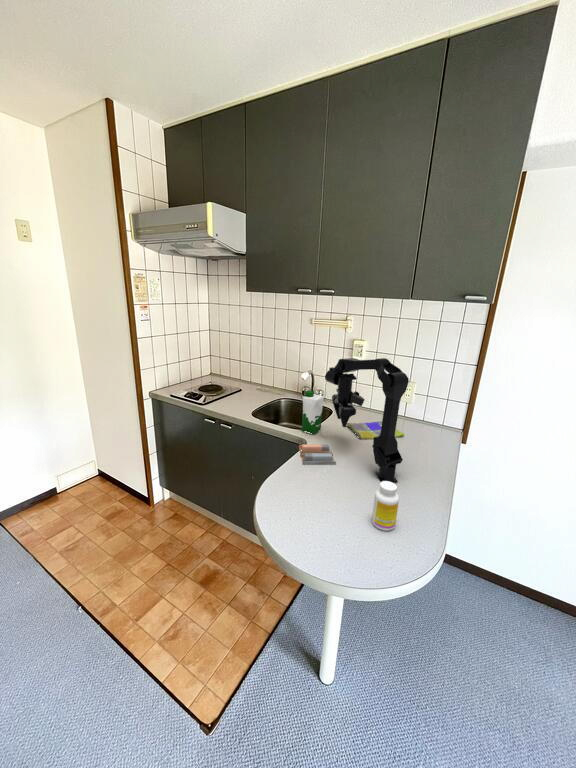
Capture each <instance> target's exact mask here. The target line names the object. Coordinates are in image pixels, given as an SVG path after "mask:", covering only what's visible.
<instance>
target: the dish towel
mask: <svg viewBox="0 0 576 768" xmlns="http://www.w3.org/2000/svg"><path fill="white" fill-rule="evenodd" d="M381 425H382V421H373V422H358V423H357V422H353V423H351V422H347V425H346V427H348V428H349V429H350V428H351V429H352V430H353V431H354V432H355V433H356V435H357V436H358V437H359V438H357V439H358V440H361V439H364V440H373V439H374V437H377V436H379V435H380V433H381ZM368 428H369V429H368ZM351 429H350V430H351ZM352 430H351V431H352ZM353 431H352V432H353ZM371 431H373V432H371ZM354 432H353V433H354ZM356 435H355V436H356ZM357 436H356V437H357ZM404 436H405V433H404V432H401V431H399V430H397V429H396V430H395V437H397V438H400V437H404Z"/></svg>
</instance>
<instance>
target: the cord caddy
mask: <svg viewBox="0 0 576 768" xmlns="http://www.w3.org/2000/svg"><path fill="white" fill-rule="evenodd" d="M327 445H328V446H329V447H330V445H329V444H327ZM298 449H299V453H300V458H301V463H302V465H303V466H336V465H337V461H336V460H334V458H333V459H332V461H304V453H331V454H332V456H333V457H334V454H333V452H332V451H331V450H330V449H329V451H301V450H302V444H299V445H298Z"/></svg>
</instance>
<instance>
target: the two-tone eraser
mask: <svg viewBox="0 0 576 768" xmlns="http://www.w3.org/2000/svg"><path fill="white" fill-rule="evenodd" d="M301 445H302V451H329V450H330V445H329V444H323V443H322V444H316V443H315V444H306V443H305V444H301ZM328 445H329V446H328Z"/></svg>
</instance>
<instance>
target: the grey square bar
mask: <svg viewBox="0 0 576 768" xmlns="http://www.w3.org/2000/svg"><path fill="white" fill-rule="evenodd" d="M332 454H333V453H332ZM332 454H331V453H304V461H332V459H334V455H333V456H332Z"/></svg>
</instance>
